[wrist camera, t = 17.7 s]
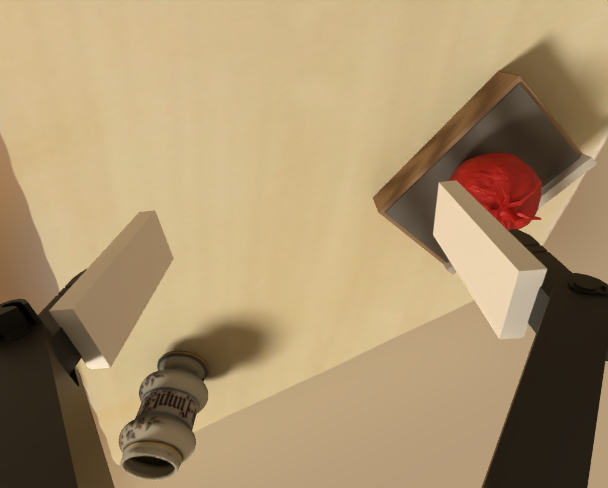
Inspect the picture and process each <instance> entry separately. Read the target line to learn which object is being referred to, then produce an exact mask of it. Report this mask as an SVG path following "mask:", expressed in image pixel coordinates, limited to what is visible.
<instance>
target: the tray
mask: <svg viewBox="0 0 608 488" xmlns="http://www.w3.org/2000/svg"><path fill="white" fill-rule="evenodd" d="M488 153H509V154H513V155H515V156H517V157H518V158H520V159H521V160H522V161H524V162H525V163H526V164H527V165H529V166H530V167H531V168H532V169H533V170H534V171H535V173H536V174H537V175H538V177H539V178H540V180H541V181H543V182H541V184H542V187H541V199H540V203H539V207H538V209H539V208H540V207H541V206H543V205H544V204H545V203H547V202H548V201H549V200H550V199H552V198H553V197H554V196H556V195H557V194H558V193H560V192H561V191H562V190H563V189H565V188H566V187H567V186H569V185H570V184H571V183H573V182H574V181H575V180H577V179H578V178H579V177H580V176H582V175H583V174H584V173H586V172H587V171H588V170H589V169H591V168H592V167H593V166H594V165H596V162H595V161H594V160H593V159H592V157H589V156H587V155H585V154H583V153H582V152H581V151H580V150H579V148H578V147H577V146H576V145H575V144H574V142H573V141H572V140H571V139H570V137H569V136H568V135H567V134H566V132H565V131H564V130H563V129H562V127H561V126H560V125H559V124H558V123H557V121H556V120H555V119H554V118H553V116H552V115H551V114H550V113H549V111H548V110H547V109H546V108H545V106H544V105H543V104H542V103H541V102H540V100H539V99H538V98H537V97H536V95H535V94H534V93H533V92H532V90H531V89H530V88H529V87H528V85H527V84H526V83H525V82H524V81H523V79H522V78H521V77H520V76H518V75H513V74H508V73H503V72H497V73H496V74H495V75H494V76H493V77H492V78H491V79H490V80H489V81H488V82H487V83H486V84H485V85H484V86H483V87H482V88H481V89H480V90H479V91H478V92H477V93H476V94H475V95H474V96H473V97H472V98H471V99H470V100H469V101H468V102H467V103H466V104H465V105H464V106H463V107H462V108H461V109H460V110H459V111H458V112H457V113H456V114H455V115H454V116H453V117H452V118H451V119H450V120H449V121H448V122H447V123H446V124H445V125H444V126H443V128H442V129H441V130H440V131H439V132H438V133H437V134H436V135H435V136H434V137H433V138H432V139H431V140H430V141H429V142H428V143H427V144H426V145H425V146H424V147H423V148H422V149H421V150H420V151H419V152H418V153H417V154H416V155H415V156H414V157H413V158H412V159H411V160H410V161H409V162H408V163H407V164H406V165H405V166H404V167H403V168H402V169H401V170H400V171H399V172H398V173H397V174H396V175H395V176H394V177H393V178H392V179H391V180H390V181H389V182H388V183H387V184H386V185H385V186H384V187H383V188H382V189H381V190H380V191H379V192H378V193H377V194H376V195H375V196H374V197H373V200H374V202H375V205H376V207H377V209H378V212H379V213H380V214H381V215H382V216H384V217H385V218H386V219H387V220H389V221H390V222H391V223H393V224H394V225H395V226H396V227H398V228H399V229H400V230H401V231H403V232H404V233H405V234H406V235H408V236H409V237H410V238H411V239H413V240H414V241H415V242H416V243H418V244H419V245H420V246H421V247H423V248H424V249H425V250H426V251H428V252H429V253H430V254H431V255H433V256H434V257H435V258H436V259H438V260H439V261H440V262H441V263H443V264H444V266H445V267H446V269H447V270H448V271H449V272H450V273H451V274H454V273H455V272H456V270H455V269H454V267H453V265H452V264H451V262H450V261H449V259H448V258H447V256H446V255H445V253H444V251H443V250H442V248H441V247H440V245H439V244H438V242H437V240H436V239H435V237H434V236H433V230H434V221H435V212H436V203H437V194H438V185H439V182H445V181H449V179H450V177H451V176H452V174H453V173H454V172H455V170H456V169H457V168H458V167H459V166H460V165H461V164H462V163H463V162H465V161H466V160H468V159H471V158H474V157H476V156H479V155H484V154H488Z"/></svg>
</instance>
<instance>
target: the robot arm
mask: <svg viewBox="0 0 608 488" xmlns="http://www.w3.org/2000/svg"><path fill="white" fill-rule="evenodd" d="M433 236H434V237H435V239H436V240H437V242H438V244H439V245H440V247H441V248H442V250H443V251H444V253H445V255H446V256H447V258H448V259H449V261H450V262H451V264H452V265H453V267H454V269H455V270H456V272H457V273H458V275H459V276H460V278H461V280H462V281H463V283H464V284H465V286H466V287H467V289H468V291H469V292H470V294H471V295H472V297H473V298H474V300H475V302H476V303H477V305H478V306H479V308H480V309H481V311H482V313H483V314H484V316H485V317H486V319H487V320H488V322H489V324H490V325H491V327H492V328H493V330H494V331H495V333H496V335H497V336H498V338H499V339H508V338H522V337H524V335H525V332H526V330H527V327H528V324H529V325H530V326H531V327H532V329H533V330H534V331H535V333H536V336H535V338H534V341H533V344H532V346H531V349H530V352H529V354H528V358H527V361H526V364H525V366H524V369H523V372H522V375H521V378H520V381H519V384H518V386H517V389H516V392H515V395H514V398H513V400H512V403H511V406H510V409H509V412H508V414H507V417H506V420H505V423H504V426H503V429H502V432H501V434H500V437H499V440H498V443H497V446H496V448H495V452H494V454H493V457H492V460H491V463H490V465H489V468H488V471H487V474H486V477H485V479H484V482H483V485H482V488H587V486H588V478H589V471H590V465H591V458H592V451H593V444H594V437H595V429H596V422H597V415H598V409H599V401H600V394H601V387H602V381H603V374H604V366H605V361H608V285H607V284H606V283H604V282H602V281H601V280H599V279H597V278H594V277H591V276H588V275H584V274H578V273H572V272H571V271H569V270H568V269H567V268H566V267H565V266H564V265H563V264H562V263H561V262H559V261H558V260H557V259H556V258H555V257H554V256H553V255H552V254H551V253H549V252H547V250H546V249H545V248H544V247H543V246H542V245H540V244H539V243H538V242H537V241H536V240H535V239H534V238H533V237H532V236H530V235H528V234H526V233H524V232H522V231H520V230H518V229H512V230H507V229H506V228H505V227H504V226H503V225H502V224H501V223H500V222H499V221H498V220H497V219H495V218H494V217H493V216H492V215H491V214H490V213H489V212H488V211H487V210H486V209H485V208H484V207H483V206H482V205H481V204H480V203H479V202H478V201H477V200H476V199H475V198H474V197H473V196H472V195H471V194H470V193H469V192H468V191H467V190H466V189H465V188H464V187H463V186H462V185H460V184H459V183H458V182H457V181H456V180H455V181H445V182H439V185H438V194H437V203H436V212H435V221H434V230H433ZM173 259H174V258H173V256H172V253H171V251H170V248H169V245H168V243H167V240H166V238H165V235H164V232H163V230H162V227H161V225H160V222H159V219H158V217H157V214H156V212H155V211H146V212H139V213H138V214H137V215H136V216H135V217H134V219H133V220H132V221H131V222H130V223H129V224H128V225H127V226H126V227H125V228H124V229H123V231H122V232H121V233H120V234H119V235H118V236H117V237H116V238H115V239H114V240H113V241H112V243H111V244H110V245H109V246H108V247H107V248H106V249H105V250H104V251H103V252H102V253H101V255H100V256H99V257H98V258H97V259H96V260H95V261H94V262H93V263H92V264H91V265H90V267H89V268H88V269H85V270H84V271H82V272H81V273H80V274H78V275H77V276H75V277H74V278H73V279H72V280H71V281H70V282H69V283H68V284H67V285H66V286H65V288H63V289H62V290H61V291H60V292H59V294H58V296H56V297H55V298H54V299H53V300H52V301H51V302H50V303H49V304H48V305H47V306H46V307H45V309H43V311H42V312H41V313H40V314H39V315H37V314H36V313H35V311H34V310H33V309H32V307H31V306H30V304H29V303H28V302H27V301H26V300H24V299H17V300H11V301H8V302H5V303H2V304H0V488H114V485H113V481H112V478H111V474H110V471H109V468H108V465H107V462H106V458H105V455H104V452H103V448H102V445H101V442H100V439H99V435H98V432H97V429H96V425H95V422H94V419H93V415H92V412H91V409H90V406H89V402H88V399H87V396H86V392H85V389H84V386H83V382H82V379H81V376H80V373H79V372H78V371H77V369H76V368H75V366H76V365H77V363H78V362H79V361H80V359H81V358H82V359H83V361H84V362H85V364H86V365H87V366H88V368H89V369H97V368H111V366H112V364H113V362H114V361H115V359H116V357H117V355H118V354H119V352H120V350H121V348H122V347H123V345H124V343H125V342H126V340H127V338H128V336H129V335H130V333H131V331H132V329H133V328H134V326H135V324H136V323H137V321H138V319H139V317H140V316H141V314H142V312H143V310H144V309H145V307H146V305H147V303H148V302H149V300H150V298H151V297H152V295H153V293H154V291H155V290H156V288H157V286H158V284H159V283H160V281H161V279H162V278H163V276H164V274H165V272H166V271H167V269H168V267H169V265H170V264H171V262H172V260H173Z"/></svg>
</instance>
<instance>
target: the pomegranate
mask: <svg viewBox="0 0 608 488" xmlns="http://www.w3.org/2000/svg"><path fill="white" fill-rule="evenodd" d="M455 180H456V181H457V182H458V183H459V184H460V185H462V186H463V187H464V188H465V189H466V190H467V191H468V192H469V193H470V194H471V195H472V196H473V197H474V198H475V199H476V200H477V201H478V202H479V203H480V204H481V205H482V206H483V207H484V208H485V209H486V210H487V211H488V212H489V213H490V214H491V215H492V216H493V217H494V218H495V219H497V220H498V221H499V222H500V223H501V224H502V225H503V226H504V227H505V228H506V229H507V230H512V229H521V228H523V227H525V226H526V225H528V224H529V223H530V222H531V220H541V218H539V217H534V216H535V215H536V212H537V210H538V207H539V203H540V199H541V187H542V184H541V182H543V181H541V180H540V178H539V177H538V175H537V174H536V173H535V171H534V170H533V169H532V168H531V167H530V166H529V165H527V164H526V163H525V162H524V161H522V160H521V159H520V158H518V157H517V156H515V155H513V154H509V153H488V154H484V155H479V156H476V157H474V158H471V159H468V160H466V161H465V162H463V163H462V164H461V165H460V166H459V167H458V168H457V169H456V170H455V172H454V173H453V174H452V176H451V177H450V179H449V181H455Z"/></svg>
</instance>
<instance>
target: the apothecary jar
mask: <svg viewBox="0 0 608 488" xmlns="http://www.w3.org/2000/svg"><path fill="white" fill-rule="evenodd" d="M157 367H158V371H157V372H154V373H152V374H150V375H149V376H147V377H146V378H145V379H144V381H143V382H142V384H141V386H140V390H139V397H140V400H141V406H140V408H139V411H138V413H137V416H136V418H135V420H133V421H131V422H129V423H128V424H127V425H126V426H125V427H124V428H123V429H122V431H121V433H120V436H119V446H120V449H121V451H122V453H123V457H122V459H121V468H122V469H123V471H125V472H126V473H127V474H129V475H131V476H133V477H136V478H139V479H143V480H150V481H158V480H165V479H169V478H171V477H173V476H174V475H175V474H176V473H177V471H178V469H179V467H180V465H181V463H183V462H185V461H186V460H187V459H188V458H189V457H190V456H191V455H192V453H193V452H194V449H195V445H196V440H195V436H194V433H193V432H192V429H193V425H194V421H195V417H196V414H197V413H199V412H200V411H201V410H202V409H203V408H204V407H205V405H206V403H207V400H208V390H207V387H206V385H205V384H204V382H203V381H204V378H205V377H206V376H208V374H209V368H208V366H207V364H206V363H205V361H204V360H203V359H201V358H200V357H198V356H196V355H194V354H192V353H188V352H171V353H168V354H165V355H164V356H162V357H161V358H160V359H159V361H158V365H157Z"/></svg>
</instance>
